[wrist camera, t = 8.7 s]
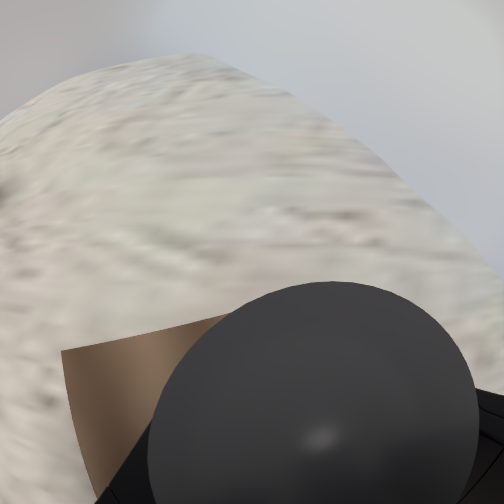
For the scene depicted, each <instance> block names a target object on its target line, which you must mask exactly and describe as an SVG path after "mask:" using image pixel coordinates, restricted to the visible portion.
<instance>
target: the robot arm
mask: <svg viewBox="0 0 504 504" xmlns="http://www.w3.org/2000/svg"><path fill="white" fill-rule="evenodd" d="M475 390H476V394H477V400H478V408H479V437H478V444H477V451H476V455H475V459H474V463H473V467H472V470H471V473H470V476H469V478H468V481H467V483H466V486H465V488H464V490H463V492H462V494H461V496H460V498H459V500H458V502H457V503H456V504H504V395H499V394H495V393H491V392H488V391H484V390H480V389H477V388H475ZM152 419H153V418H152ZM151 423H152V420H151V421H150V423H149V424H148V425H147V427H146V428H145V430H144V431H143V433H142V434H141V436H140V437H139V439H138V440H137V442H136V443H135V445H134V446H133V448H132V449H131V451H130V452H129V454H128V455H127V457H126V458H125V460H124V461H123V463H122V464H121V466H120V467H119V469H118V470H117V472H116V473H115V475H114V476H113V478H112V479H111V481H110V482H109V484H108V485H109V486H106V488H105V489H104V491H103V492H102V494H101V495H100V497H99V498H98V499H97V501H96V502H95V503H94V504H156V502H155V498H154V495H153V491H152V488H151V484H150V479H149V470H148V459H147V456H148V440H149V432H150V428H151Z"/></svg>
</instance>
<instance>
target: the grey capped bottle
mask: <svg viewBox="0 0 504 504" xmlns="http://www.w3.org/2000/svg"><path fill="white" fill-rule="evenodd" d="M478 437H479V408H478V400H477V394H476V390H475V386H474V382H473V378H472V376H471V373H470V370H469V368H468V365H467V363H466V361H465V359H464V357H463V355H462V353H461V352H460V350H459V348H458V346H457V345H456V344H455V342H454V341H453V339H452V338H451V337H450V335H449V334H448V333H447V332H446V331H445V330H444V328H443V327H442V326H441V325H440V324H439V323H438V322H437V321H436V320H435V319H434V318H432V317H431V316H430V315H429V314H428V313H426V312H425V311H424V310H423V309H421V308H420V307H418V306H416V305H415V304H413V303H412V302H410V301H409V300H407V299H405V298H403V297H400V296H398V295H396V294H394V293H392V292H389V291H386V290H383V289H380V288H377V287H374V286H369V285H364V284H358V283H352V282H335V281H330V282H315V283H307V284H302V285H297V286H291V287H287V288H284V289H281V290H278V291H275V292H272V293H268V294H266V295H264V296H262V297H260V298H257V299H255V300H253V301H251V302H248V303H246V304H245V305H243V306H241V307H240V308H238V309H237V310H235V311H233V312H232V313H230V314H228V315H227V316H225V317H224V318H223V319H221V320H220V321H219V322H218V323H216V324H215V325H214V326H213V327H211V328H210V329H209V330H207V331H206V332H205V333H204V334H203V335H202V337H201V338H200V339H199V340H198V341H197V342H196V343H195V344H194V345H193V346H192V347H191V348H190V349H189V350H188V351H187V353H186V354H185V355H184V357H183V358H182V359H181V361H180V362H179V363H178V365H177V366H176V367H175V369H174V370H173V372H172V374H171V376H170V378H169V379H168V381H167V383H166V385H165V386H164V388H163V390H162V393H161V395H160V398H159V400H158V403H157V406H156V408H155V411H154V414H153V419H152V423H151V428H150V432H149V440H148V456H147V459H148V470H149V479H150V484H151V488H152V491H153V495H154V498H155V502H156V504H456V503H457V502H458V500H459V498H460V496H461V494H462V492H463V490H464V488H465V486H466V483H467V481H468V478H469V476H470V473H471V470H472V467H473V463H474V459H475V455H476V451H477V444H478Z"/></svg>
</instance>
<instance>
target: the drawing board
mask: <svg viewBox="0 0 504 504" xmlns="http://www.w3.org/2000/svg"><path fill="white" fill-rule="evenodd" d="M228 314H230V313H228ZM228 314H224V315H220V316H217V317H213V318H209V319H205V320H201V321H197V322H193V323H189V324H185V325H181V326H177V327H173V328H168V329H164V330H160V331H156V332H151V333H147V334H142V335H138V336H133V337H129V338H124V339H120V340H115V341H110V342H105V343H100V344H95V345H90V346H85V347H80V348H74V349H69V350H63V351H61V355H62V363H63V370H64V377H65V383H66V389H67V394H68V400H69V405H70V409H71V414H72V419H73V423H74V427H75V431H76V435H77V439H78V442H79V446H80V450H81V453H82V456H83V460H84V463H85V466H86V469H87V472H88V475H89V478H90V481H91V484H92V486H93V489H94V492H95V494H96V497H97V499H98V498H99V497H100V495H101V494H102V492H103V491H104V489H105V488H106V486H109V485H108V484H109V482H110V481H111V479H112V478H113V476H114V475H115V473H116V472H117V470H118V469H119V467H120V466H121V464H122V463H123V461H124V460H125V458H126V457H127V455H128V454H129V452H130V451H131V449H132V448H133V446H134V445H135V443H136V442H137V440H138V439H139V437H140V436H141V434H142V433H143V431H144V430H145V428H146V427H147V425H148V424H149V423H150V421H151V420H152V418H153V414H154V411H155V408H156V406H157V403H158V400H159V398H160V395H161V393H162V390H163V388H164V386H165V385H166V383H167V381H168V379H169V378H170V376H171V374H172V372H173V370H174V369H175V367H176V366H177V365H178V363H179V362H180V361H181V359H182V358H183V357H184V355H185V354H186V353H187V351H188V350H189V349H190V348H191V347H192V346H193V345H194V344H195V343H196V342H197V341H198V340H199V339H200V338H201V337H202V335H203V334H204V333H205V332H206V331H207V330H209V329H210V328H211V327H213V326H214V325H215V324H216V323H218V322H219V321H220V320H221V319H223V318H224V317H225V316H227V315H228Z"/></svg>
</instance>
